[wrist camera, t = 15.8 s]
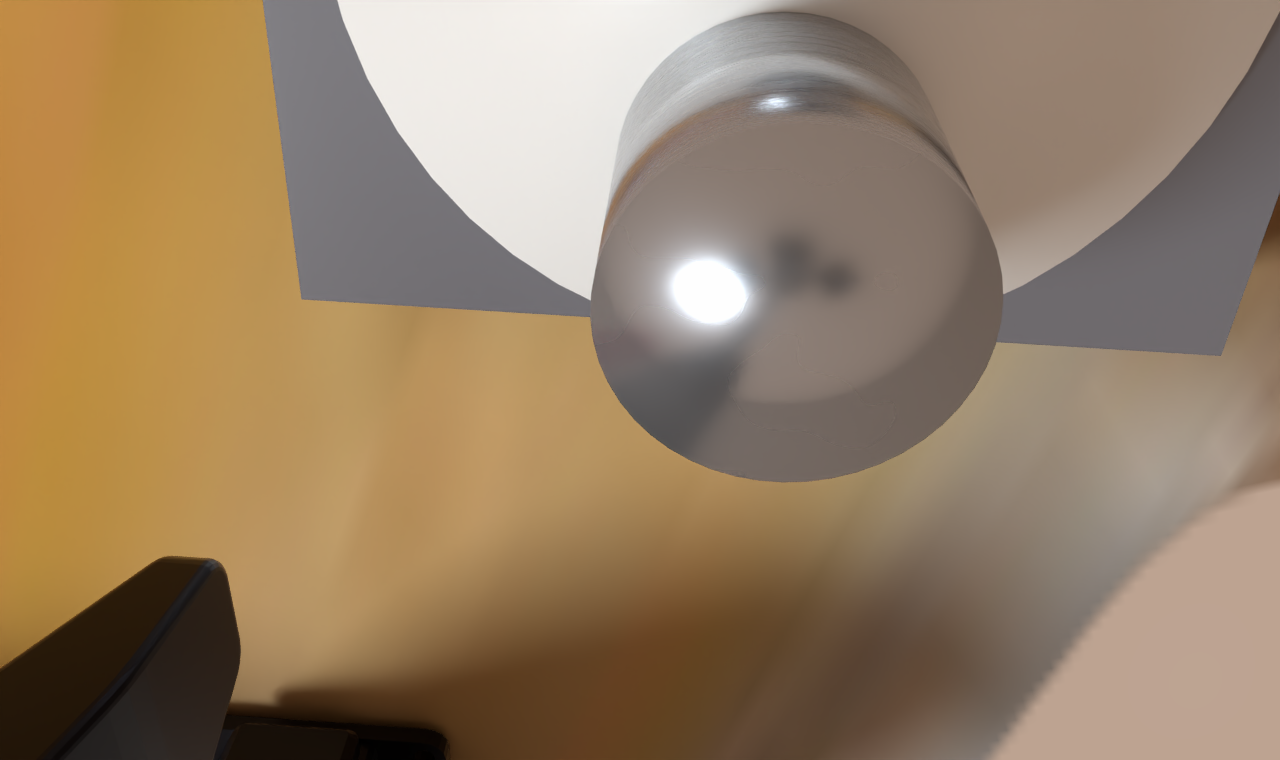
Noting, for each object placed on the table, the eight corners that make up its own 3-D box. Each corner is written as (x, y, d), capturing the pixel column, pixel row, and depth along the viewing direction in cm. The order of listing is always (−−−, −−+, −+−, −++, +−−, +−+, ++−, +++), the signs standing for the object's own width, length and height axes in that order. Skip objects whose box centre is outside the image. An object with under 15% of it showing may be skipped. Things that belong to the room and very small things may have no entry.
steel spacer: (793, 367, 18) (813, 541, 14) (552, 200, 16) (511, 347, 13) (1011, 147, 16) (1093, 289, 12) (755, -61, 14) (769, 31, 11)
